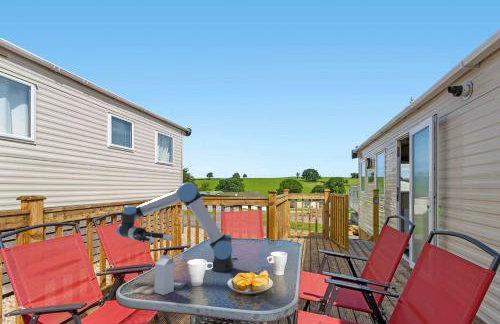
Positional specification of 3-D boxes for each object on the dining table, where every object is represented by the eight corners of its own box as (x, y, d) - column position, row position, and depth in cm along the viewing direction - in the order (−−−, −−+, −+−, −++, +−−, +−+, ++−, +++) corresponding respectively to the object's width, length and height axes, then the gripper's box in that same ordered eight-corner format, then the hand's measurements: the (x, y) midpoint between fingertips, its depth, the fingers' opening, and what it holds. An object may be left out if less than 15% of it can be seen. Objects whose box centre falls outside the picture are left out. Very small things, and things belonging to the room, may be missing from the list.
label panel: (186, 284, 177) (186, 281, 177) (180, 289, 168) (180, 286, 168) (160, 282, 180) (160, 280, 180) (152, 287, 171) (153, 285, 171)
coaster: (159, 288, 170) (159, 286, 170) (150, 294, 160) (150, 293, 160) (142, 287, 171) (142, 285, 171) (132, 293, 161) (132, 291, 161)
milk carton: (163, 295, 159) (164, 257, 160) (154, 292, 163) (155, 255, 164) (173, 291, 165) (174, 255, 166) (164, 289, 169) (165, 253, 170)
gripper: (152, 237, 200) (177, 243, 189) (119, 241, 178) (145, 248, 168) (153, 226, 200) (178, 231, 190) (121, 228, 179) (147, 234, 168)
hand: (163, 239), depth 179 cm, fingers open, 13 cm apart
